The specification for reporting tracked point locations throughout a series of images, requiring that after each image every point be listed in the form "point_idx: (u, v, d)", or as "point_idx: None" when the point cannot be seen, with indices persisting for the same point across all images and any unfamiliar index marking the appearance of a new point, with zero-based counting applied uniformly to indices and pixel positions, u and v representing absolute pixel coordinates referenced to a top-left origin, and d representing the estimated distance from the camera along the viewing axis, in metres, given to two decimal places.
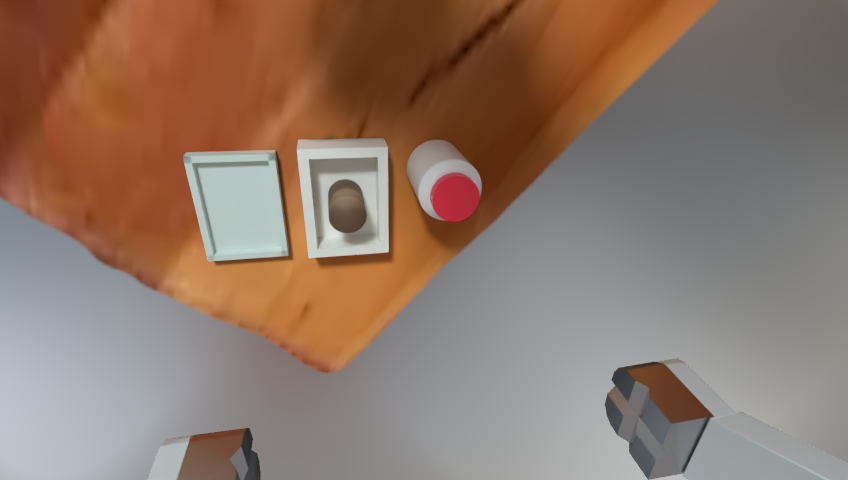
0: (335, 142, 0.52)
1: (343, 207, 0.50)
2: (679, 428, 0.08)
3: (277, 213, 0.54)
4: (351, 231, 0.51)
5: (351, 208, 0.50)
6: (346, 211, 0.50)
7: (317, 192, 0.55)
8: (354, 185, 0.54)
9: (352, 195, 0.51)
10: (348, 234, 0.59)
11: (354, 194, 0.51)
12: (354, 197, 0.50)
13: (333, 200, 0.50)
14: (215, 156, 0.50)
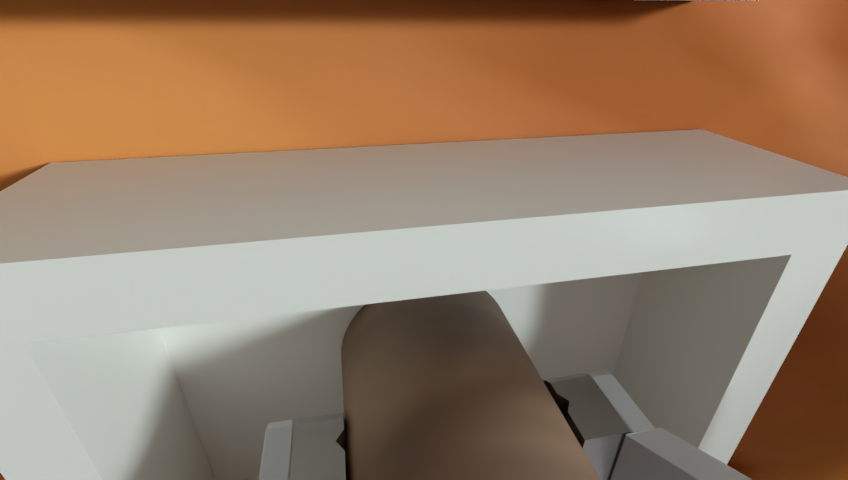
0: None
1: None
2: (595, 444, 0.08)
3: None
4: None
5: None
6: None
7: None
8: None
9: None
10: (189, 382, 0.10)
11: None
12: None
13: None
14: None
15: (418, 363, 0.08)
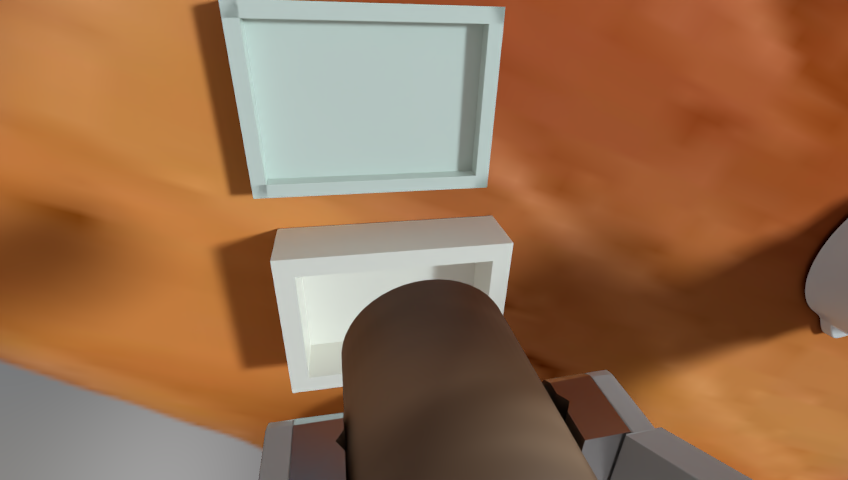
0: None
1: None
2: (595, 444, 0.08)
3: (363, 183, 0.25)
4: None
5: None
6: None
7: None
8: None
9: None
10: (308, 301, 0.30)
11: None
12: None
13: None
14: (495, 76, 0.24)
15: (418, 366, 0.08)
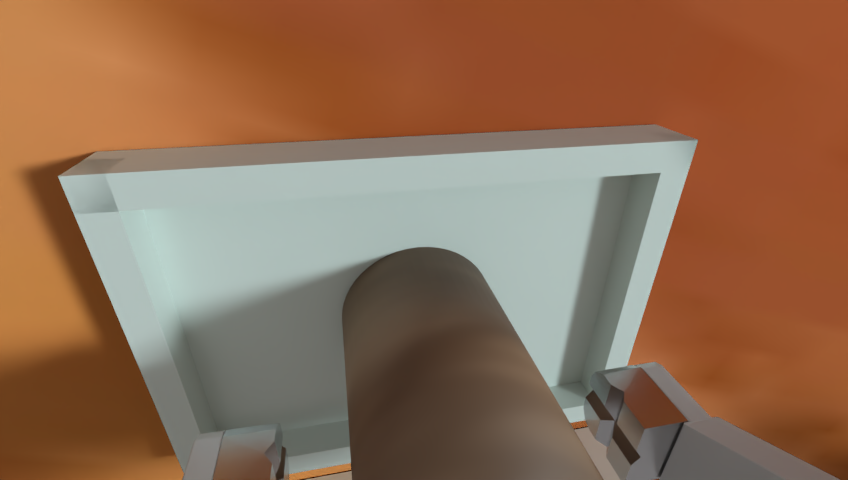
0: None
1: None
2: (653, 433, 0.08)
3: None
4: None
5: None
6: None
7: None
8: None
9: None
10: None
11: None
12: None
13: (559, 413, 0.08)
14: (656, 258, 0.12)
15: (408, 313, 0.09)
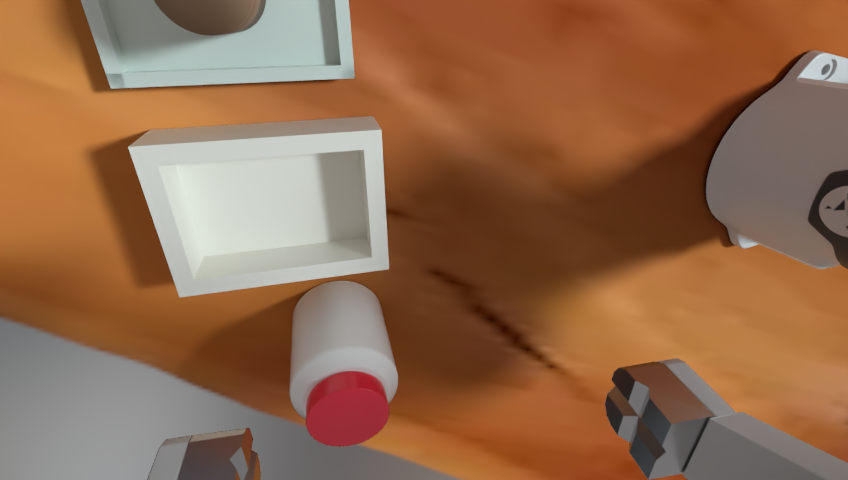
0: None
1: None
2: (679, 428, 0.08)
3: (224, 73, 0.26)
4: None
5: None
6: None
7: None
8: (260, 11, 0.24)
9: None
10: (192, 207, 0.30)
11: (256, 4, 0.21)
12: (253, 3, 0.20)
13: None
14: None
15: None
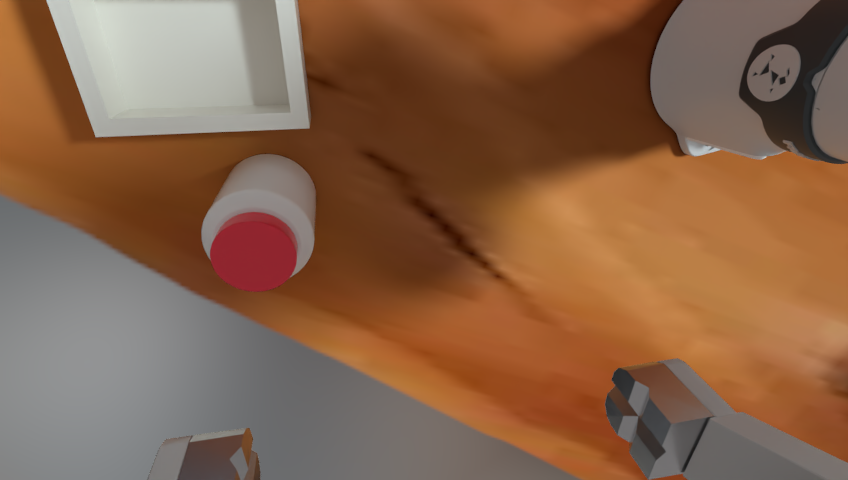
0: (300, 37, 0.31)
1: None
2: (679, 428, 0.08)
3: None
4: None
5: None
6: None
7: None
8: None
9: None
10: (113, 52, 0.30)
11: None
12: None
13: None
14: None
15: None
